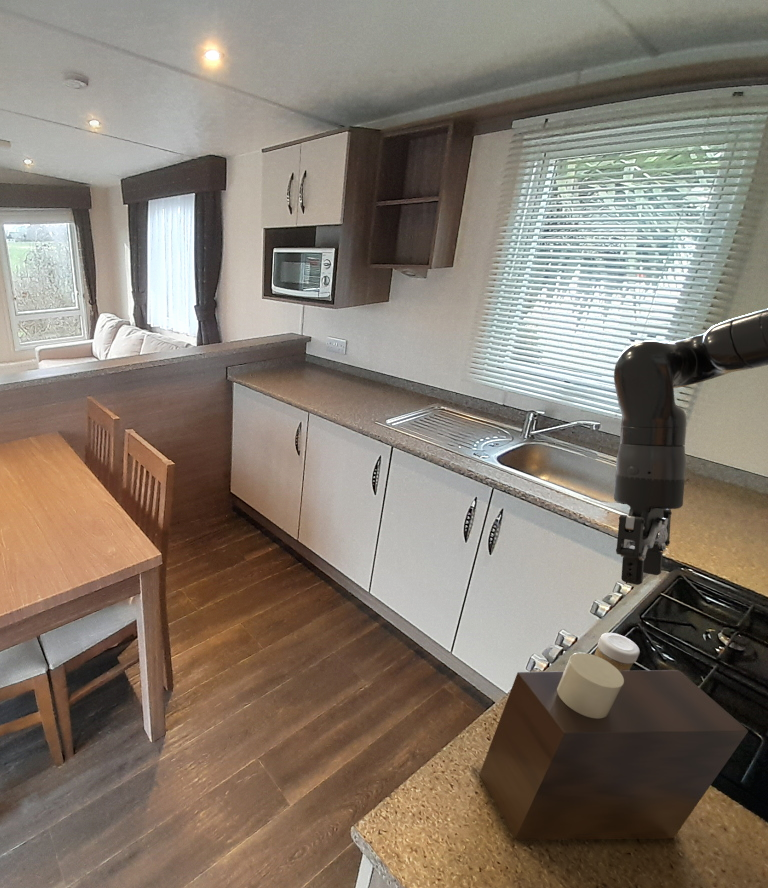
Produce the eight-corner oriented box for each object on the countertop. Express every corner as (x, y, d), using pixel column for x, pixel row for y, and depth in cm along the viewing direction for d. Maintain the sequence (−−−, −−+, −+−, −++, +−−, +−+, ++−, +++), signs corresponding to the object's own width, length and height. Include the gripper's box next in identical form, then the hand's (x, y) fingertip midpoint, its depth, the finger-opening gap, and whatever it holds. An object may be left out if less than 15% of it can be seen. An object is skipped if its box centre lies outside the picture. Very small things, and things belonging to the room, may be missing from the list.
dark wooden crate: (619, 775, 68) (678, 669, 59) (672, 840, 61) (749, 731, 52) (478, 776, 68) (517, 671, 60) (513, 842, 61) (564, 733, 52)
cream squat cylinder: (608, 697, 56) (623, 666, 54) (608, 727, 53) (624, 695, 51) (558, 675, 59) (570, 645, 57) (555, 702, 56) (568, 672, 54)
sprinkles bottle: (593, 690, 80) (622, 630, 75) (617, 715, 76) (649, 653, 71) (567, 691, 80) (593, 631, 75) (589, 716, 76) (619, 655, 71)
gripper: (668, 480, 66) (660, 595, 67) (698, 474, 73) (689, 577, 74) (599, 474, 72) (592, 579, 73) (632, 469, 79) (626, 564, 80)
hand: (641, 578), depth 74 cm, fingers open, 8 cm apart
